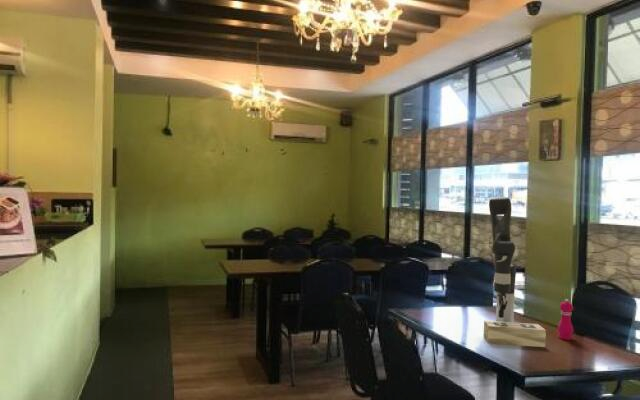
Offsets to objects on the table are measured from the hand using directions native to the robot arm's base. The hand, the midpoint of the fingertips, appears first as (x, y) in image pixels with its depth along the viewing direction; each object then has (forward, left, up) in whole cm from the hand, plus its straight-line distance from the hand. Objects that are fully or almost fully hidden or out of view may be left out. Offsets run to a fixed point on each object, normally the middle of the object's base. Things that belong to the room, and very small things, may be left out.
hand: (500, 317), depth 249 cm
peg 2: (0, +13, -11) cm, 17 cm away
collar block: (0, +6, -11) cm, 13 cm away
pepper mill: (-15, +35, -12) cm, 40 cm away
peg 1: (0, 0, -11) cm, 11 cm away
